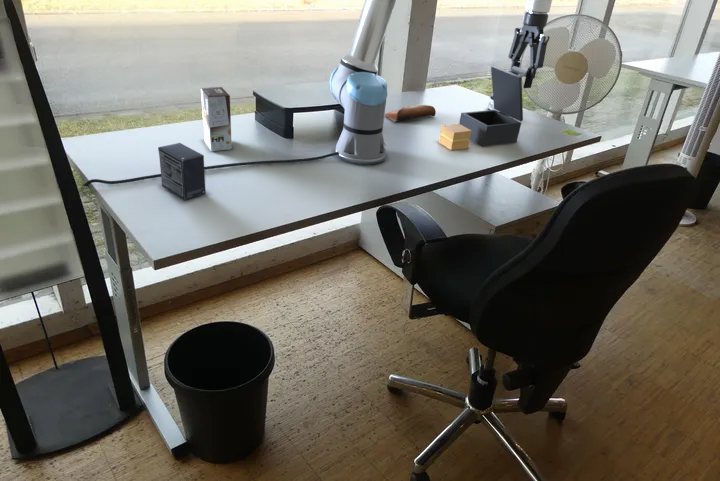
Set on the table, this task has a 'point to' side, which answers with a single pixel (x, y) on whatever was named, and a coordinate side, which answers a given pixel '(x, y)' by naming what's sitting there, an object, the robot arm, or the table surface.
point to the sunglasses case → (411, 112)
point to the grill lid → (508, 91)
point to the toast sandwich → (454, 136)
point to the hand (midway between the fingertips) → (519, 84)
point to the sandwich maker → (490, 127)
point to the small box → (182, 171)
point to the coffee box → (216, 118)
